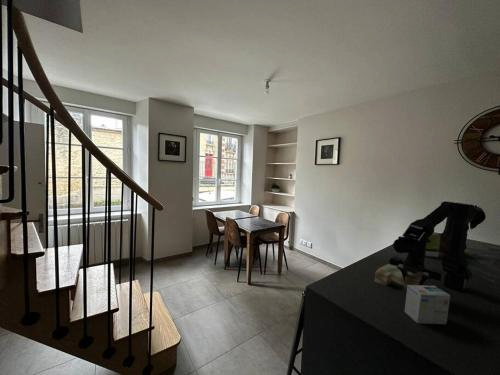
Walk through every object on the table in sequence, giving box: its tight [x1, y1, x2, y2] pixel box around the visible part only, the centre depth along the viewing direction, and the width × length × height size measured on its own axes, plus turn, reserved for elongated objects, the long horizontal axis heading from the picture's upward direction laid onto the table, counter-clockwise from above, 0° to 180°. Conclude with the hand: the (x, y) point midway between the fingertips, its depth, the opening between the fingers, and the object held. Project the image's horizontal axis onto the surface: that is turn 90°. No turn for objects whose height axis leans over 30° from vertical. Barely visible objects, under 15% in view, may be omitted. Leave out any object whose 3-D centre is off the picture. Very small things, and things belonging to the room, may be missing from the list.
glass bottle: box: [437, 215, 467, 254], centre depth 153 cm, size 18×18×28 cm
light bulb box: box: [404, 285, 451, 325], centre depth 78 cm, size 11×7×11 cm, turn 92°
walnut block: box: [403, 274, 422, 290], centre depth 97 cm, size 5×5×5 cm
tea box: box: [410, 232, 440, 258], centre depth 147 cm, size 15×10×15 cm
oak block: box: [374, 269, 392, 287], centre depth 104 cm, size 5×5×5 cm
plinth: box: [376, 262, 416, 286], centre depth 111 cm, size 12×14×3 cm
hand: (412, 286), depth 97 cm, fingers closed on walnut block, 5 cm apart
